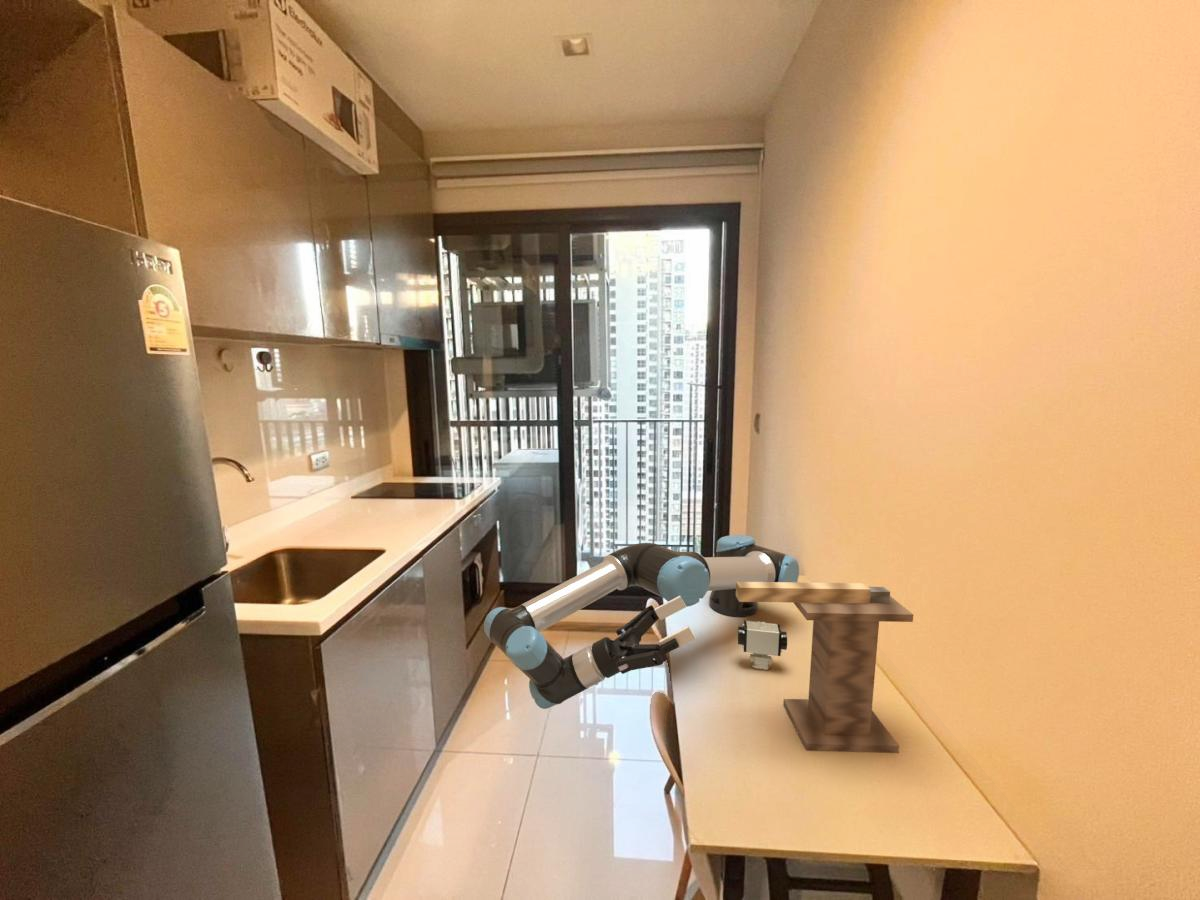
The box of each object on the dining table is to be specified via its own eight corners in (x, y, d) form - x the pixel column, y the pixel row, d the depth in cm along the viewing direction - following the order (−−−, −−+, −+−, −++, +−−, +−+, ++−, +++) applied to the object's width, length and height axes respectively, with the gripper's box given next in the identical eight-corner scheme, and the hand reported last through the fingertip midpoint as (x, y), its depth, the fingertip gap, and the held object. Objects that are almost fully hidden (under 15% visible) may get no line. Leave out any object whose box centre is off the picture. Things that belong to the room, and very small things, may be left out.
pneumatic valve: (785, 674, 125) (788, 629, 124) (737, 668, 128) (738, 624, 126) (783, 662, 131) (785, 619, 129) (736, 656, 133) (738, 614, 132)
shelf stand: (801, 750, 100) (809, 615, 96) (778, 704, 114) (785, 585, 110) (903, 752, 99) (916, 617, 95) (868, 706, 113) (878, 586, 109)
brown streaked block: (739, 601, 102) (739, 587, 101) (735, 595, 105) (736, 581, 104) (890, 603, 101) (891, 589, 100) (882, 597, 104) (883, 583, 103)
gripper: (608, 644, 119) (687, 603, 117) (606, 714, 94) (706, 664, 92) (592, 618, 118) (672, 577, 116) (586, 682, 94) (686, 630, 91)
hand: (687, 615), depth 104 cm, fingers open, 13 cm apart
